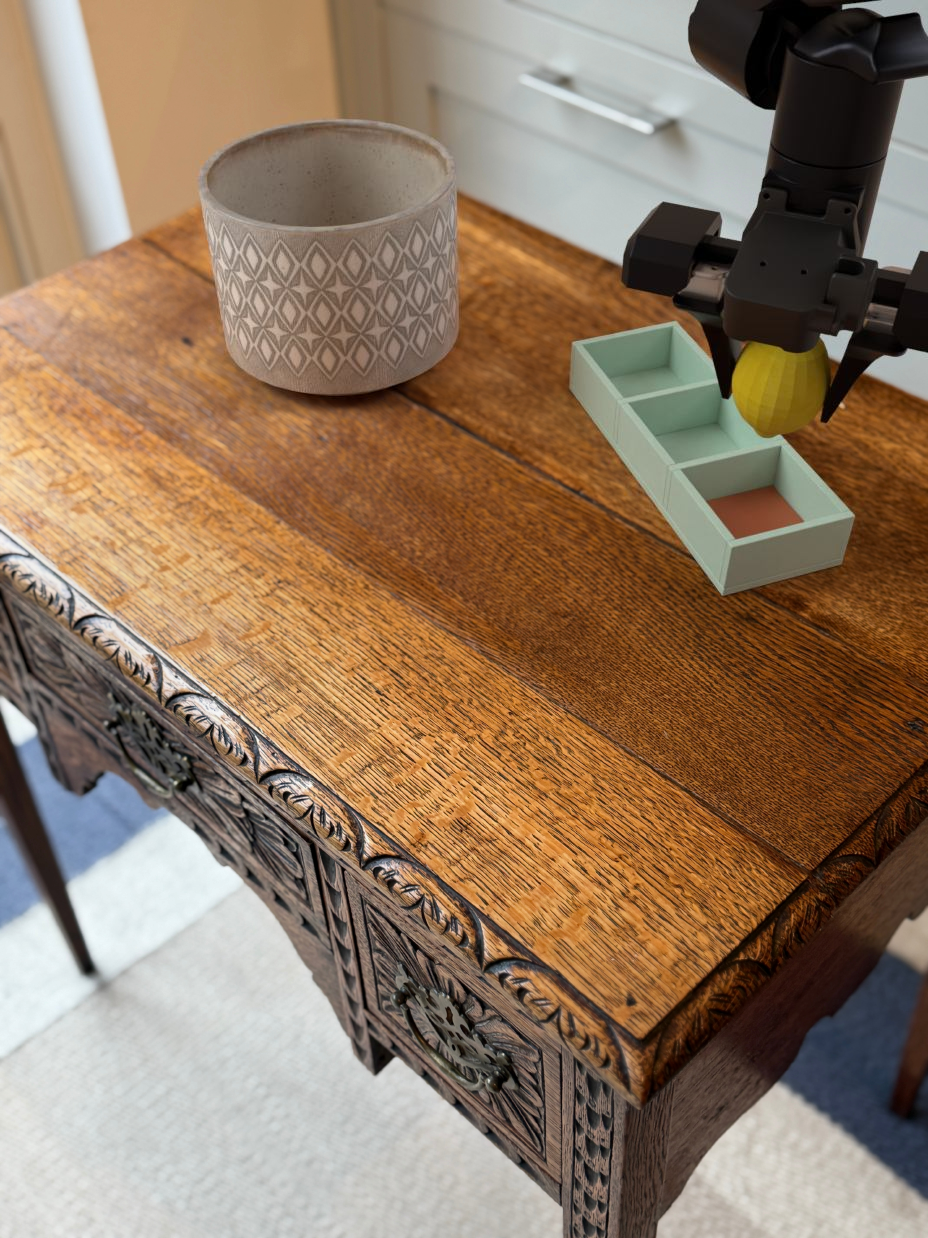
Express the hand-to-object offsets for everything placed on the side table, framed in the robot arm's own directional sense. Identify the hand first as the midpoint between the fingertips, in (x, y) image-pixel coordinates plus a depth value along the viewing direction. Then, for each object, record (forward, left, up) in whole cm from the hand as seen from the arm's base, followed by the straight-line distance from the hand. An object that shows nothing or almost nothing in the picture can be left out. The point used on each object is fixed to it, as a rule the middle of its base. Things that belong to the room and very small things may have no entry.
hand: (775, 407), depth 70 cm
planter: (+35, +13, -11) cm, 39 cm away
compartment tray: (+8, -2, -11) cm, 14 cm away
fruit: (0, 0, -2) cm, 2 cm away
